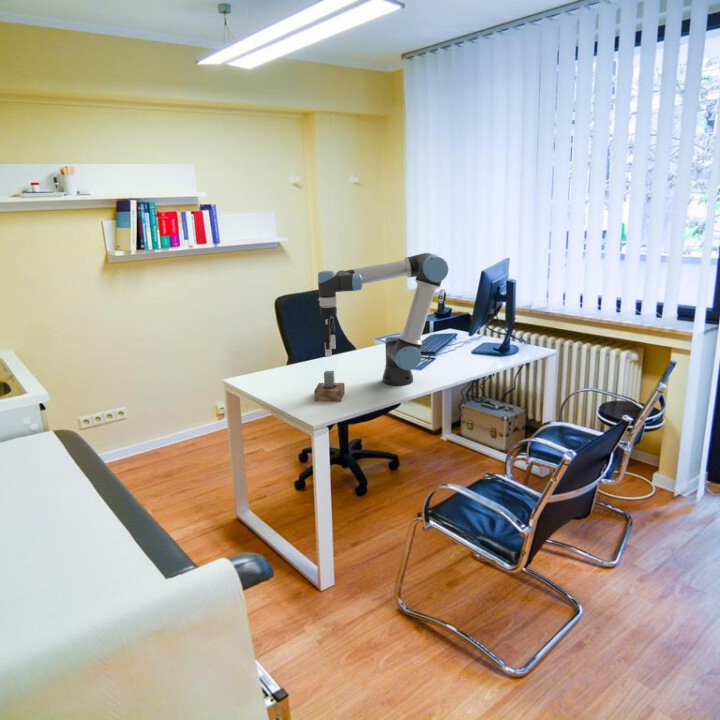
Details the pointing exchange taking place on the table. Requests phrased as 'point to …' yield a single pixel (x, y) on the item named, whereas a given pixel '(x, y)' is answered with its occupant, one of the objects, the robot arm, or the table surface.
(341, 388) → the brown square hole block
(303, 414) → the table surface
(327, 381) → the metal peg
